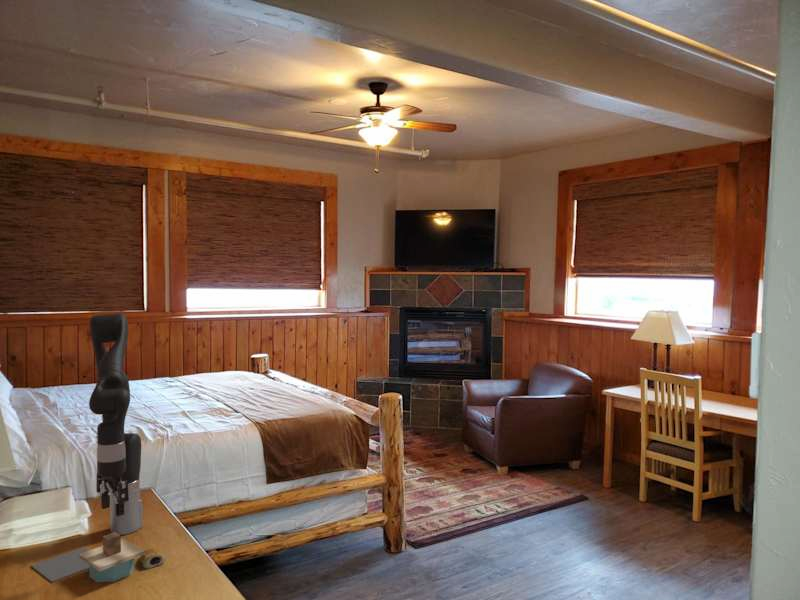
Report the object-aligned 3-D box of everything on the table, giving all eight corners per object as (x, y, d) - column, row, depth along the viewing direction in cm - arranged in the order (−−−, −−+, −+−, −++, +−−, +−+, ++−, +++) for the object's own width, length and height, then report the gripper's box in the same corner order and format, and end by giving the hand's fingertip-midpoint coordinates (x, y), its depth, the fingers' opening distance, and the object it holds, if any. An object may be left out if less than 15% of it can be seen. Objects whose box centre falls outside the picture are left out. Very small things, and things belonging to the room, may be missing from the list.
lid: (123, 541, 182) (122, 522, 181) (144, 554, 174) (144, 534, 173) (78, 557, 171) (78, 537, 171) (99, 571, 163) (99, 550, 163)
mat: (83, 548, 188) (83, 547, 188) (105, 562, 179) (105, 561, 179) (31, 566, 176) (31, 565, 176) (52, 582, 167) (52, 581, 167)
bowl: (121, 559, 181) (121, 543, 180) (140, 570, 174) (140, 554, 174) (84, 573, 172) (84, 557, 172) (102, 586, 165) (102, 568, 165)
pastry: (136, 558, 182) (136, 546, 182) (159, 552, 186) (159, 540, 186) (144, 570, 174) (144, 558, 174) (167, 564, 178) (167, 552, 178)
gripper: (136, 458, 170) (137, 513, 171) (112, 449, 179) (113, 501, 180) (110, 465, 164) (111, 522, 165) (86, 455, 173) (88, 509, 174)
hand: (112, 511), depth 172 cm, fingers open, 8 cm apart
